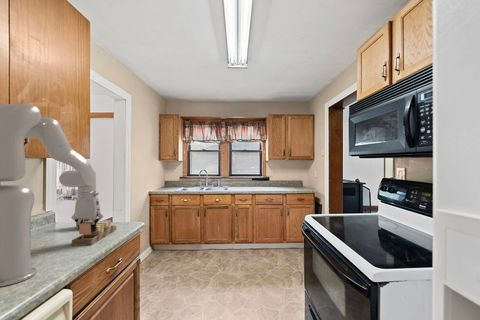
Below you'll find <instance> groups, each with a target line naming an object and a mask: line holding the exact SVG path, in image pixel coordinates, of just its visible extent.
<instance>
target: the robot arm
mask: <svg viewBox="0 0 480 320" xmlns="http://www.w3.org/2000/svg"><path fill="white" fill-rule="evenodd" d="M25 139H38V140H39V141H40V143H41V144H42V147H43V148H44V150H45V151H46V153H47V155H48V156H49V158H51V159H53V160H55V161H57V162H60V163H62V164H66V165H68V166H69V167H72V168H73V169H74V170H66V171H63V172H62V173H61V174H60V175H59V177H58V180H59V184H60V185H62V186H63V187H67V188H77V198H76V201H75V205H74V206H75V207H74V212H73V213H74V214H72V216H71V219H72V220H73V221H74V222H75V224H76V223H77V225H79V224H81V223H83V221H84V219H91V222H92V225H91V233H93V232H95V231H96V223H98V222H100V221H101V219H103V218H104V215H103V214H102V213H101V206H100V200H99V197H98V196H99V192H97V173H96V170H94V169H93V167H92V165H91V163H90V161H89V160H88V159H86V158H85V157H84V156H83V155H82V154H80V153H79V152H77V151H76V150H74V148H72V146H71V144H70V142H69V140H68V138H67V136H66V134H65V133H64V130H63V129H62V127H61V125H60V123H59V121H58V120H57V119H56V118H53V117H47V116H42V113H41V110H40V109H39V108H38V106H36V105H33V104H31V103H30V104H29V103H9V104H7V103H5V104H1V103H0V287H5V286H9V285H10V286H11V285H14V284H17V283H20V282H24V281H26V280H28V279H30V278H32V277H33V276H35V275H36V274H37V270H38V269H37V267H35V266H31V265H32V262H31V259H32V258H31V257H32V256H31V254H32V253H31V251H32V249H31V247H32V246H31V245H32V241H31V240H32V239H31V238H32V236H31V233H32V232H31V230H32V228H31V227H32V226H31V224H32V223H31V222H32V219H31V218H32V211H33V208H34V205H35V204H34V203H35V194H34V192H33V190H32V189H30V188H29V187H27V186H25V185H19V184H18V185H17V184H1V182H3V183H4V182H15V181H20V180H21V179H23V178H24V176H25V175H26V171H27V165H26V154H25ZM96 217H97V218H96Z"/></svg>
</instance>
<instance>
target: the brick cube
mask: <svg viewBox="0 0 480 320" xmlns="http://www.w3.org/2000/svg"><path fill="white" fill-rule="evenodd" d="M91 225H92V222H91V221H85V222H83V223H81V224H79V229H78V233H79V236H81V235H83V234H92V233H91Z"/></svg>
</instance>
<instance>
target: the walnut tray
mask: <svg viewBox="0 0 480 320" xmlns="http://www.w3.org/2000/svg"><path fill="white" fill-rule="evenodd" d="M116 230H117V225H112V220H111V219H110V220H99V221H98V222H97V224H96V231H95V232H93V233H92V234H81V235H79V236H78V237H75V238H73V239H72V240H71V246H92V245H94V244H96V243H98V242H99V241H100V240H101V241H102V239H104V238H106V237H107V236H109V235H111V234H113V233H114V232H115V231H116Z"/></svg>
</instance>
